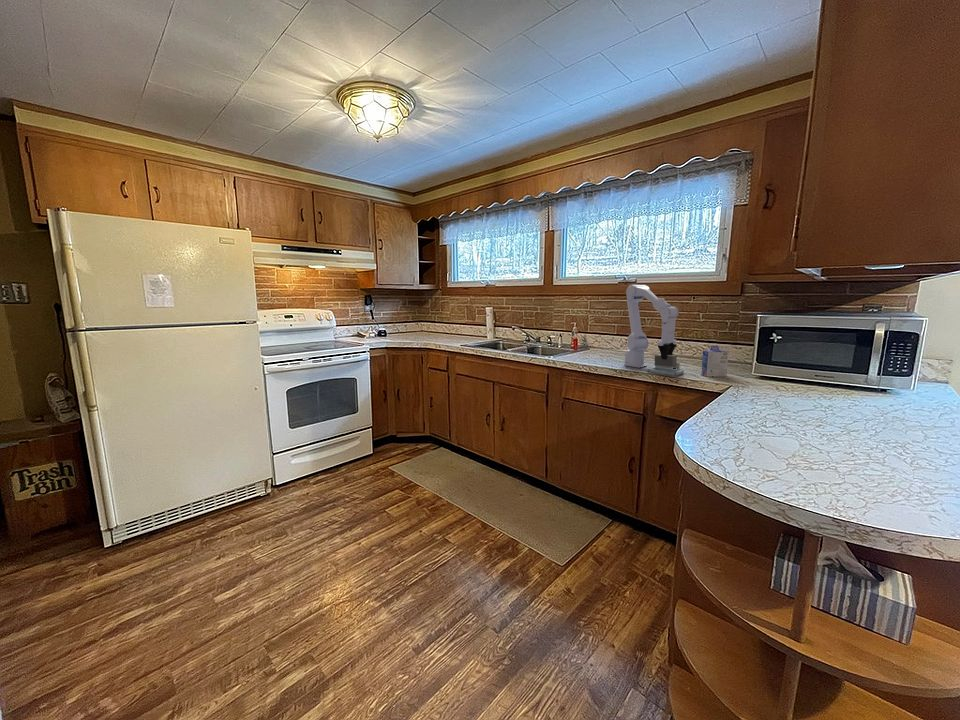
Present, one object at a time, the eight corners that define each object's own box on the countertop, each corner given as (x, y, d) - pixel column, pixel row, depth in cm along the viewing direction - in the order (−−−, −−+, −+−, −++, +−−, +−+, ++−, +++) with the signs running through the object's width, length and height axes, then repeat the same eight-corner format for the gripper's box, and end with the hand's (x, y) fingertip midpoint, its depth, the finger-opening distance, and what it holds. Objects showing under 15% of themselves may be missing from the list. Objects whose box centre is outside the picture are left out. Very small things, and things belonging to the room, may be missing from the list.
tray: (647, 372, 197) (647, 368, 197) (655, 369, 203) (656, 366, 202) (675, 376, 186) (675, 372, 186) (683, 374, 192) (683, 370, 192)
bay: (654, 368, 206) (655, 355, 205) (662, 366, 211) (663, 353, 210) (672, 371, 199) (673, 357, 198) (679, 369, 204) (680, 355, 203)
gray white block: (654, 365, 196) (654, 354, 196) (658, 364, 199) (658, 354, 198) (672, 366, 189) (672, 356, 189) (676, 365, 192) (676, 355, 191)
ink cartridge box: (720, 374, 191) (723, 345, 188) (727, 376, 185) (730, 346, 183) (700, 374, 191) (702, 345, 188) (706, 377, 185) (709, 346, 183)
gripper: (669, 333, 183) (667, 361, 186) (683, 331, 192) (681, 358, 195) (654, 332, 189) (652, 359, 191) (669, 330, 198) (667, 356, 200)
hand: (666, 358), depth 193 cm, fingers closed on gray white block, 4 cm apart
